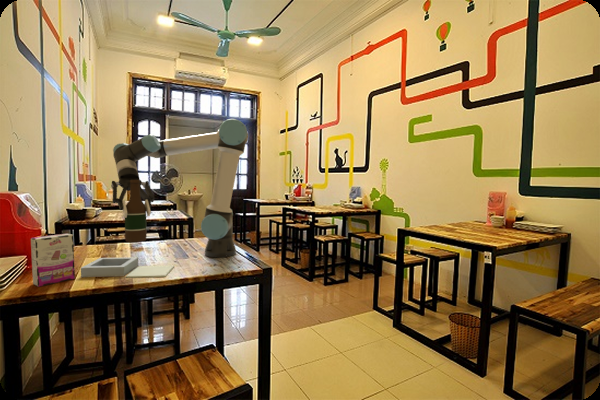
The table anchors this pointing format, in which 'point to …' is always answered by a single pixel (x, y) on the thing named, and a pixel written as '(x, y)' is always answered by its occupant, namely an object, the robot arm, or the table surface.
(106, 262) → the grey square tray
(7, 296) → the table surface
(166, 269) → the mat
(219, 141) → the robot arm
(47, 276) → the candy bar box
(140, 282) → the table surface
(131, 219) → the beer bottle
